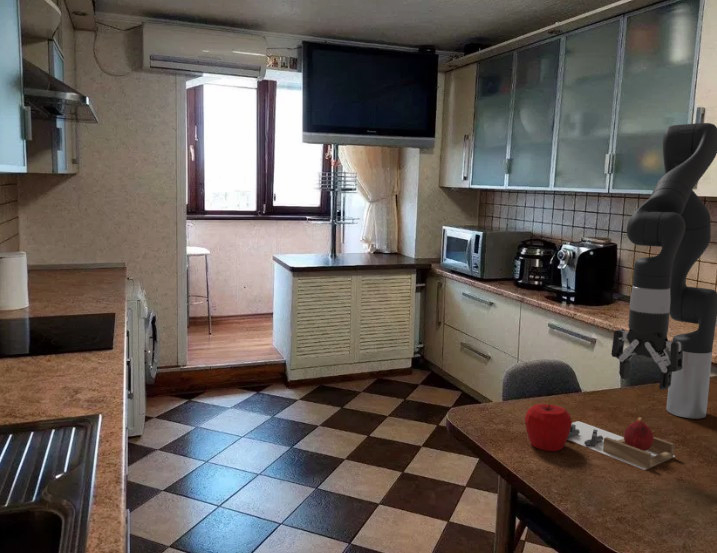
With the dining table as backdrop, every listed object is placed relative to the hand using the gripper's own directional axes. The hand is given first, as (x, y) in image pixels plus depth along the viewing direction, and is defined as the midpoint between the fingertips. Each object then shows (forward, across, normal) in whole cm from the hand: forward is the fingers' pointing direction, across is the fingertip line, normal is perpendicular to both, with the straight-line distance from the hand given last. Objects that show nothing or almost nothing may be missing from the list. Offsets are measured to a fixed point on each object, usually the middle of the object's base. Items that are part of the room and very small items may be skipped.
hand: (643, 383), depth 129 cm
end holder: (+16, 0, 0) cm, 16 cm away
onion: (+16, 0, 0) cm, 16 cm away
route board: (+17, +7, +1) cm, 18 cm away
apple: (+17, +14, +13) cm, 26 cm away
